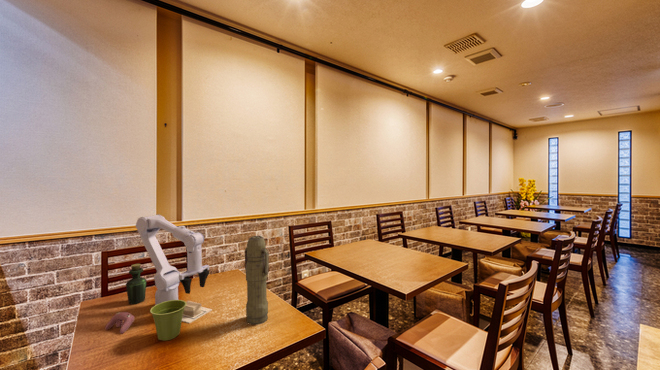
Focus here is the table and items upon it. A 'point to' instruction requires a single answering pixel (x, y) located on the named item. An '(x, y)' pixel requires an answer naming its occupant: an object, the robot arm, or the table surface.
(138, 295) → the potion bottle
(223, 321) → the table surface
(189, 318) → the mat
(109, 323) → the video game controller
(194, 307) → the tall beige pillar block
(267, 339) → the table surface
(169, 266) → the robot arm
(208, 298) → the table surface
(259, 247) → the thermos
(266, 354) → the table surface
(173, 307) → the plant pot
